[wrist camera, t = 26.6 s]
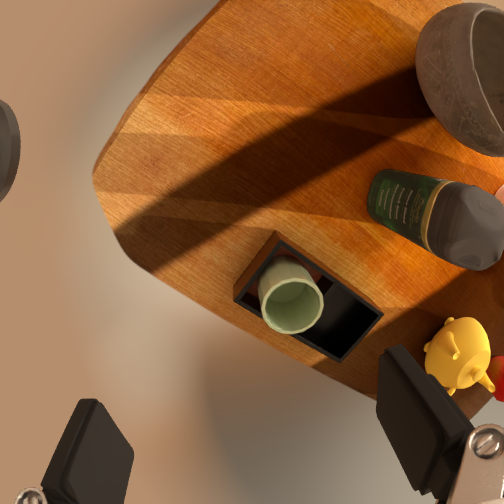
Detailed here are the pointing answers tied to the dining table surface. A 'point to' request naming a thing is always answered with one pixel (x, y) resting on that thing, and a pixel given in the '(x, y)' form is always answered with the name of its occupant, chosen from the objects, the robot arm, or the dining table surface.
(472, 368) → the teapot
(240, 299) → the black divided tray
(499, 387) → the apple
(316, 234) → the dining table surface
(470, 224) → the coffee jar
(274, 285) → the sage cup
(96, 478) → the robot arm
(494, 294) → the dining table surface
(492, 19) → the bowl
